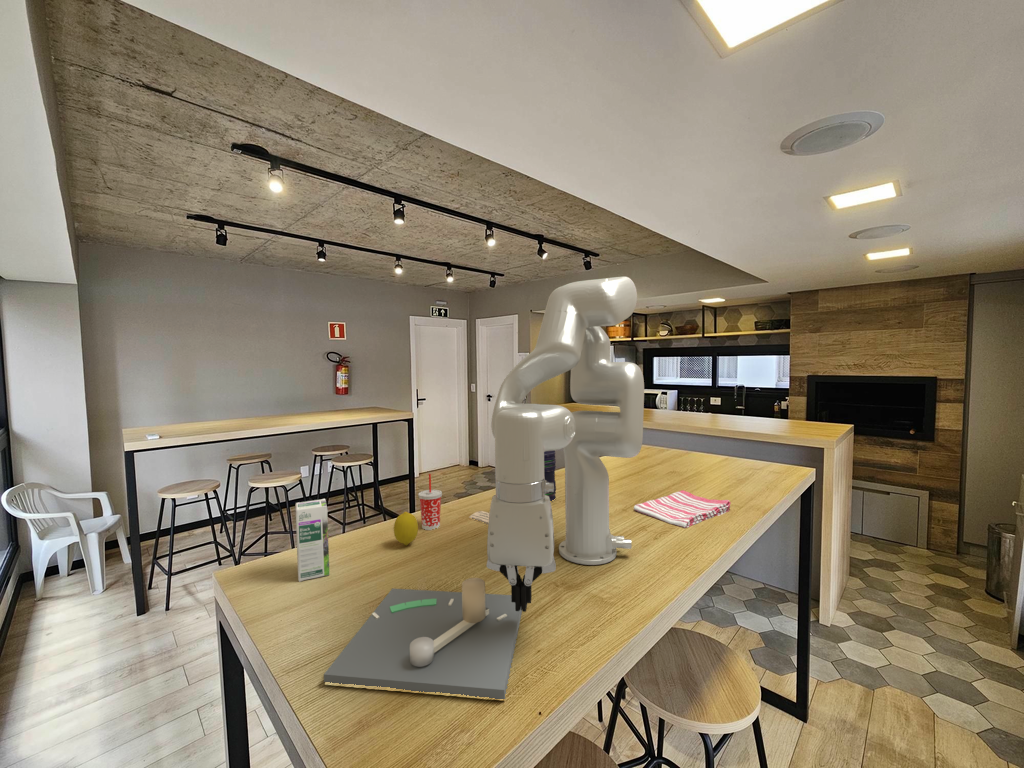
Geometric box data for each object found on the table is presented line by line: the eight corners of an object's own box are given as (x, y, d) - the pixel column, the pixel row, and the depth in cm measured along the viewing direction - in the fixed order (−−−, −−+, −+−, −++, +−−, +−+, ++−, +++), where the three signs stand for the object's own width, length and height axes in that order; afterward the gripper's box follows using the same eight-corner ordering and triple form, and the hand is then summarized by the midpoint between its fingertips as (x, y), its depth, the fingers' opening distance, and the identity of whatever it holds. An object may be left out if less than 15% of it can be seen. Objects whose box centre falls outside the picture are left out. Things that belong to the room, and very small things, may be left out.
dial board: (523, 604, 75) (523, 594, 75) (504, 701, 53) (504, 688, 53) (392, 596, 78) (392, 587, 78) (324, 685, 56) (323, 672, 56)
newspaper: (469, 521, 118) (468, 514, 118) (486, 514, 123) (486, 508, 123) (537, 542, 103) (537, 535, 103) (554, 533, 108) (554, 526, 108)
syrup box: (298, 582, 84) (295, 509, 83) (297, 570, 89) (295, 501, 88) (329, 575, 86) (327, 504, 86) (327, 564, 91) (325, 497, 91)
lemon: (412, 551, 97) (411, 516, 97) (389, 549, 98) (389, 515, 98) (422, 541, 103) (421, 508, 102) (400, 539, 104) (400, 507, 104)
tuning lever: (421, 670, 56) (420, 625, 56) (404, 659, 58) (403, 615, 58) (494, 616, 68) (494, 579, 68) (478, 609, 70) (477, 572, 70)
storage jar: (526, 493, 141) (526, 448, 140) (556, 494, 140) (556, 448, 139) (523, 502, 131) (522, 454, 131) (555, 503, 130) (554, 454, 129)
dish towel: (733, 512, 121) (733, 499, 121) (685, 531, 108) (685, 517, 108) (679, 497, 135) (679, 486, 135) (631, 513, 122) (631, 500, 122)
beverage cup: (421, 532, 108) (420, 478, 108) (416, 524, 114) (415, 472, 113) (445, 528, 111) (444, 475, 110) (439, 521, 116) (438, 470, 116)
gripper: (569, 484, 68) (570, 596, 69) (477, 482, 70) (479, 591, 71) (569, 498, 61) (570, 624, 62) (466, 495, 63) (469, 617, 64)
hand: (521, 606), depth 66 cm, fingers closed
